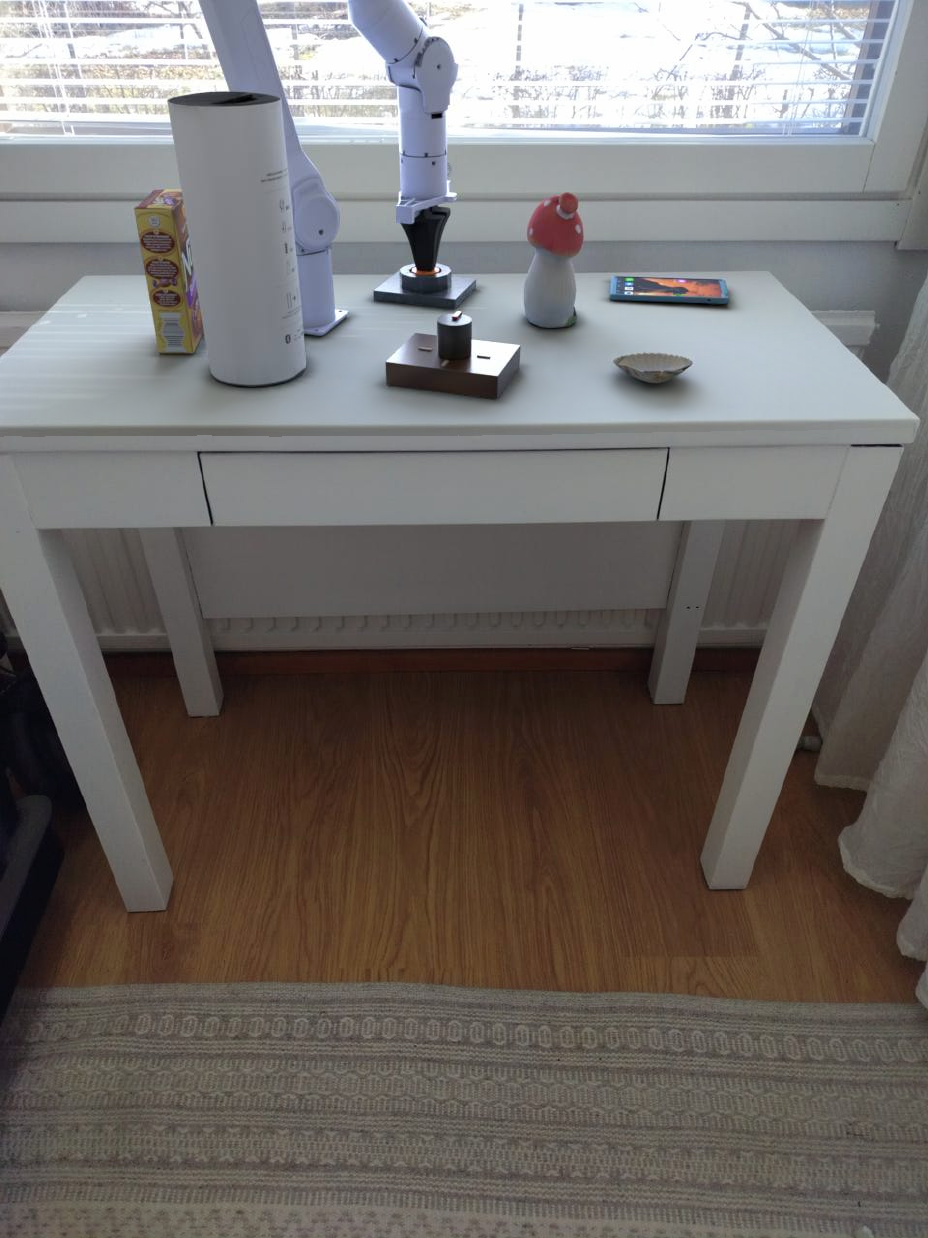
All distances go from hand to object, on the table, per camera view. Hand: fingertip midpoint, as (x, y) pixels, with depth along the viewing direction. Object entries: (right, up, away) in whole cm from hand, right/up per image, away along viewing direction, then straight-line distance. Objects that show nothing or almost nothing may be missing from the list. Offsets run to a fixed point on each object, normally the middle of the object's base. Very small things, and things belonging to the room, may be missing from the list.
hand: (425, 269), depth 118 cm
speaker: (-17, -18, -19) cm, 31 cm away
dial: (+4, -17, -22) cm, 28 cm away
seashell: (+25, -19, -20) cm, 37 cm away
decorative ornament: (+16, -9, -6) cm, 19 cm away
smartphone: (+32, -2, +2) cm, 32 cm away
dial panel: (+4, -19, -20) cm, 28 cm away
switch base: (0, -2, +2) cm, 3 cm away
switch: (0, -1, +1) cm, 2 cm away
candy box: (-27, -13, -12) cm, 32 cm away
